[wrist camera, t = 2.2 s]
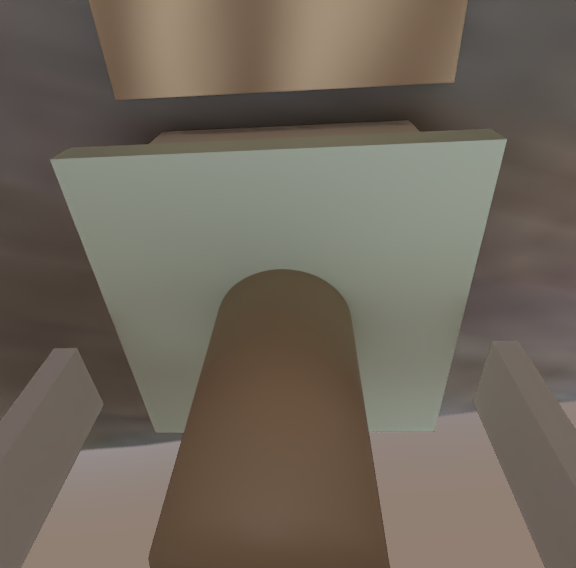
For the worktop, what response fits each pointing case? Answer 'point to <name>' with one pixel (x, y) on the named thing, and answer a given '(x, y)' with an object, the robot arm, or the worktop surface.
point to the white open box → (285, 132)
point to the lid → (284, 321)
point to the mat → (275, 44)
